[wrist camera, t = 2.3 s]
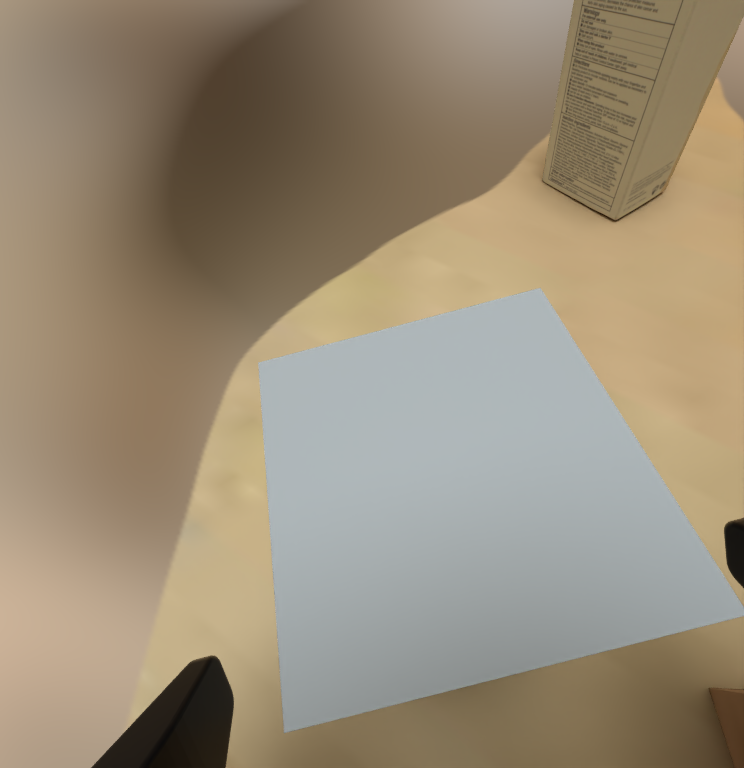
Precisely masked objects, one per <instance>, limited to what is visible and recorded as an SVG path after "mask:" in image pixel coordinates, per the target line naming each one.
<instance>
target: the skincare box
mask: <svg viewBox="0 0 744 768" xmlns="http://www.w3.org/2000/svg"><path fill="white" fill-rule="evenodd" d="M743 16H744V0H574V4H573V9H572V15H571V20H570V26H569V31H568V37H567V42H566V49H565V54H564V60H563V65H562V71H561V77H560V82H559V88H558V94H557V100H556V105H555V110H554V116H553V122H552V127H551V133H550V138H549V144H548V150H547V155H546V161H545V167H544V172H543V178H542V180H543V181H544V182H545V183H547V184H549V185H551V186H552V187H554V188H556V189H557V190H559V191H561V192H563V193H565V194H567V195H568V196H570V197H572V198H574V199H576V200H578V201H580V202H581V203H583V204H585V205H586V206H588V207H590V208H592V209H594V210H596V211H598V212H600V213H602V214H604V215H606V216H608V217H610V218H612V219H614V220H617V219H619V218H621V217H622V216H624V215H626V214H628V213H629V212H631V211H633V210H634V209H636V208H638V207H639V206H641V205H642V204H644V203H646V202H647V201H649V200H650V199H652V198H654V197H655V196H657V195H658V194H660V193H661V192H663V191H664V190H665V189H666V187H667V185H668V183H669V181H670V178H671V176H672V174H673V172H674V170H675V167H676V165H677V163H678V161H679V159H680V156H681V154H682V152H683V150H684V148H685V145H686V143H687V141H688V139H689V136H690V134H691V132H692V130H693V128H694V125H695V123H696V121H697V119H698V116H699V114H700V112H701V110H702V108H703V105H704V103H705V101H706V99H707V97H708V95H709V92H710V90H711V88H712V86H713V83H714V81H715V79H716V77H717V74H718V72H719V70H720V68H721V65H722V63H723V61H724V59H725V56H726V54H727V52H728V50H729V48H730V45H731V43H732V41H733V39H734V37H735V34H736V32H737V30H738V27H739V25H740V23H741V21H742V18H743Z"/></svg>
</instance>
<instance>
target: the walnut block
mask: <svg viewBox="0 0 744 768" xmlns="http://www.w3.org/2000/svg"><path fill="white" fill-rule="evenodd" d="M709 690H710V693H711V696H712V699H713V702H714V705H715V708H716V712H717V715H718V718H719V721H720V724H721V727H722V730H723V733H724V736H725V739H726V742H727V745H728V748H729V751H730V754H731V757H732V760H733V763H734V766H735V768H744V689H722V688H709Z"/></svg>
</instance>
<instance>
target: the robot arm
mask: <svg viewBox="0 0 744 768" xmlns="http://www.w3.org/2000/svg"><path fill="white" fill-rule="evenodd" d="M724 536H725V548H726V559H727V565H728V568H729V570H730V572H731V574H732V575H733V577H734V578H735V579H736V580H737V581H738V582H739V584H740V585H741V586H742V587H743V588H744V518H741V519H737V520H733V521H730V522H728V523H727V524H726V525H725V527H724ZM233 708H234V699H233V692H232V689H231V687H230V684H229V682H228V679H227V677H226V675H225V672H224V670H223V667H222V665H221V662H220V660H219V659H218V658H217V657H216V656H208V657H204V658H200V659H196V660H193V661H192V662H190V663H189V664H188V665H187V666H186V667H185V668H184V669H183V670H182V671H181V672H180V673H179V675H178V676H177V677H176V678H175V679H174V680H173V681H172V682H171V683H170V684H169V685H168V686H167V687H166V688H165V690H164V691H163V692H162V693H161V694H160V695H159V696H158V697H157V698H156V699H155V700H154V701H153V702H152V703H151V704H150V706H149V707H148V708H147V709H146V710H145V711H144V712H143V713H142V714H141V715H140V716H139V717H138V718H137V719H136V721H135V722H134V723H133V724H132V725H131V726H130V727H129V728H128V729H127V730H126V731H125V732H124V733H123V734H122V735H121V737H120V738H119V739H118V740H117V741H116V742H115V743H114V744H113V745H112V746H111V747H110V748H109V749H108V750H107V751H106V753H105V754H104V755H103V756H102V757H101V758H100V759H99V760H98V761H97V762H96V763H95V764H94V765H93V766H92V768H226V761H227V753H228V746H229V738H230V731H231V723H232V716H233Z"/></svg>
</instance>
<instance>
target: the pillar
mask: <svg viewBox="0 0 744 768" xmlns="http://www.w3.org/2000/svg"><path fill="white" fill-rule="evenodd" d="M258 364H259V379H260V393H261V407H262V422H263V436H264V450H265V465H266V479H267V494H268V508H269V522H270V537H271V551H272V566H273V580H274V594H275V609H276V623H277V638H278V652H279V666H280V681H281V695H282V709H283V724H284V733H286V732H290V731H294V730H298V729H302V728H306V727H310V726H314V725H318V724H322V723H326V722H330V721H334V720H337V719H341V718H345V717H349V716H353V715H357V714H361V713H365V712H369V711H373V710H377V709H381V708H385V707H389V706H392V705H396V704H400V703H404V702H408V701H412V700H416V699H420V698H424V697H428V696H432V695H436V694H440V693H444V692H447V691H451V690H455V689H459V688H463V687H467V686H471V685H475V684H479V683H483V682H487V681H491V680H495V679H499V678H502V677H506V676H510V675H514V674H518V673H522V672H526V671H530V670H534V669H538V668H542V667H546V666H550V665H554V664H557V663H561V662H565V661H569V660H573V659H577V658H581V657H585V656H589V655H593V654H597V653H601V652H605V651H609V650H612V649H616V648H620V647H624V646H628V645H632V644H636V643H640V642H644V641H648V640H652V639H656V638H660V637H664V636H667V635H671V634H675V633H679V632H683V631H687V630H691V629H695V628H699V627H703V626H707V625H711V624H715V623H719V622H722V621H726V620H730V619H734V618H738V617H742V616H744V607H743V605H742V604H741V602H740V600H739V599H738V597H737V596H736V594H735V593H734V591H733V589H732V588H731V586H730V585H729V583H728V582H727V580H726V578H725V577H724V575H723V574H722V572H721V571H720V569H719V567H718V566H717V564H716V563H715V561H714V560H713V558H712V556H711V555H710V553H709V552H708V550H707V549H706V547H705V545H704V544H703V542H702V541H701V539H700V538H699V536H698V535H697V533H696V531H695V530H694V528H693V527H692V525H691V524H690V522H689V520H688V519H687V517H686V516H685V514H684V513H683V511H682V509H681V508H680V506H679V505H678V503H677V502H676V500H675V498H674V497H673V495H672V494H671V492H670V491H669V489H668V487H667V486H666V484H665V483H664V481H663V480H662V478H661V476H660V475H659V473H658V472H657V470H656V469H655V467H654V465H653V464H652V462H651V461H650V459H649V458H648V456H647V454H646V453H645V451H644V450H643V448H642V447H641V445H640V444H639V442H638V440H637V439H636V437H635V436H634V434H633V433H632V431H631V429H630V428H629V426H628V425H627V423H626V422H625V420H624V418H623V417H622V415H621V414H620V412H619V411H618V409H617V407H616V406H615V404H614V403H613V401H612V400H611V398H610V396H609V395H608V393H607V392H606V390H605V389H604V387H603V385H602V384H601V382H600V381H599V379H598V378H597V376H596V374H595V373H594V371H593V370H592V368H591V367H590V365H589V363H588V362H587V360H586V359H585V357H584V356H583V354H582V353H581V351H580V349H579V348H578V346H577V345H576V343H575V342H574V340H573V338H572V337H571V335H570V334H569V332H568V331H567V329H566V327H565V326H564V324H563V323H562V321H561V320H560V318H559V316H558V315H557V313H556V312H555V310H554V309H553V307H552V305H551V304H550V302H549V301H548V299H547V298H546V296H545V294H544V293H543V291H542V290H541V288H538V289H535V290H531V291H527V292H523V293H519V294H516V295H512V296H508V297H504V298H501V299H497V300H493V301H489V302H486V303H482V304H478V305H474V306H470V307H467V308H463V309H459V310H455V311H452V312H448V313H444V314H440V315H437V316H433V317H429V318H425V319H421V320H418V321H414V322H410V323H406V324H403V325H399V326H395V327H391V328H388V329H384V330H380V331H376V332H372V333H369V334H365V335H361V336H357V337H354V338H350V339H346V340H342V341H339V342H335V343H331V344H327V345H323V346H320V347H316V348H312V349H308V350H305V351H301V352H297V353H293V354H290V355H286V356H282V357H278V358H274V359H271V360H267V361H263V362H259V363H258Z"/></svg>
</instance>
